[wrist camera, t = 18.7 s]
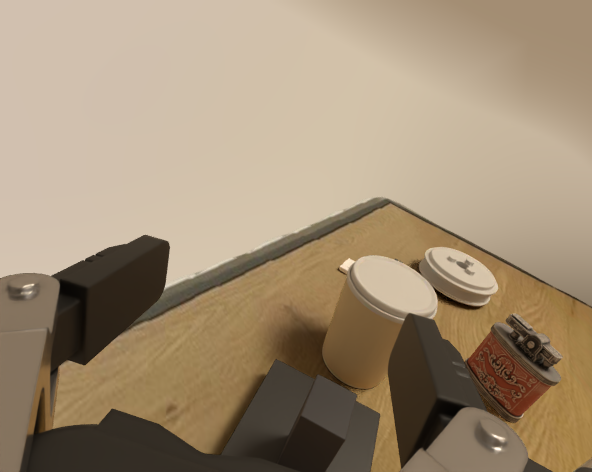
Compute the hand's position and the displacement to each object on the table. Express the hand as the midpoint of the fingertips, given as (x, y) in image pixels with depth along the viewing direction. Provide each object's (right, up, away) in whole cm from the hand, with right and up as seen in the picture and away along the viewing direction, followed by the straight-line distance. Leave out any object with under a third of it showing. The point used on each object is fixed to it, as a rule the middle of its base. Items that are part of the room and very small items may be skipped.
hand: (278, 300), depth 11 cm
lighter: (+24, -17, +31) cm, 42 cm away
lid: (+28, -7, +50) cm, 57 cm away
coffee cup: (+7, -13, +29) cm, 32 cm away
